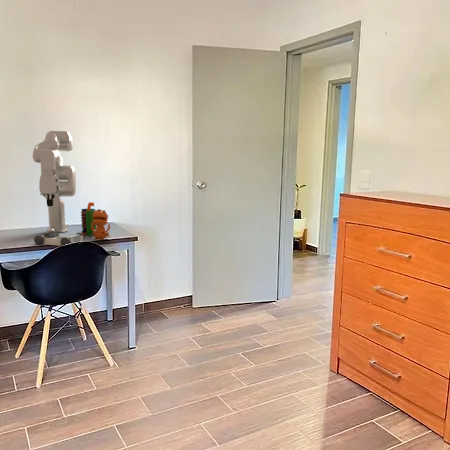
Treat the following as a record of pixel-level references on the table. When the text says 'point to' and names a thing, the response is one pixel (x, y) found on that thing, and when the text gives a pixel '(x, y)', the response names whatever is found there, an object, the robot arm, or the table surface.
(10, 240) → the table surface
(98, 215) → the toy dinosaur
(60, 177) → the robot arm
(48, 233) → the engine block
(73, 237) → the chassis
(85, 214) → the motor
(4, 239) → the table surface
